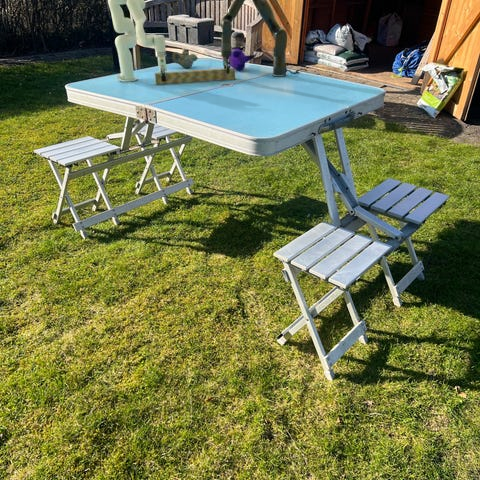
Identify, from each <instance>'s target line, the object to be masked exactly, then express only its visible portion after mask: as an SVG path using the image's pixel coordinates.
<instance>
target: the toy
mask: <svg viewBox="0 0 480 480" xmlns="http://www.w3.org/2000/svg"><path fill="white" fill-rule="evenodd" d="M231 52H232V56H231V57H229V59H230V68H234V69H235V70H236V71H237V72H241V71H243V70H244V69H245V68H246V63H247V62H249V61H251V60H252V59H254V58H256V57H257V55H258V54H250V55H245V53H244V52H243V50H241V49H239V48H235V49H233V50H232V49H231Z"/></svg>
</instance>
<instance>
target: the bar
mask: <svg viewBox="0 0 480 480" xmlns="http://www.w3.org/2000/svg"><path fill="white" fill-rule="evenodd" d="M165 76H166V81H164V82H162V80H161V73H160V72H154V81H155V85H156V86H158V85H159V86H161V85H173V84H174V85H175V84H189V83H190V84H191V83H203V82H216V81H231V80H236V69H234V68H232V67H230V73H229V74H227V70H226V68H224V67H223V68H209V69H195V70H194V69H193V70H179V71H178V70H177V71H165Z"/></svg>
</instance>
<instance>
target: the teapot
mask: <svg viewBox="0 0 480 480" xmlns="http://www.w3.org/2000/svg"><path fill="white" fill-rule="evenodd" d="M177 57H178V59H177ZM197 60H198V56H197V55H196V54H195V53H190V54H189V52H188V51H187V49H186V48H184V49H183V51H182V53H180V52H177V51H174V52H173V53H172V61H173V63H175V64H177V65H179V66H180V67H182V68H183V69H190V68H191V67H193V65H194V62H196V61H197Z"/></svg>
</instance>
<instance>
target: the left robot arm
mask: <svg viewBox="0 0 480 480" xmlns="http://www.w3.org/2000/svg"><path fill="white" fill-rule="evenodd" d="M107 4H108V7H109V10H110V15H111V19H112V25H113V29H114V31H115V32H116V33H117V34H120V35H118V36H116V38H115V40H114V44H115V48H116V52H117V56H118V62H119V67H120V68H119V69H120V74H119V75H115V76H114V78H115V79H117V80H119V81H120V82H123V83H126V82H128V83H130V82H135V81H137V79H138V78H137V77H135V71H134V63H133V55H132V53H131V51H130V49H133V48H135V47H136V46H137V44H138V41H139V43H140V45H141V46H142V47H144V48H147V47H148V48H149V47H154V53H155V58H157V65H158V70H159V73H161V80H162V82H164V81H166V76H165V72H168V69H167V62H166V57H167V49H166V38H165V36H164V35H163V34H155V33H150V34H147V33H146V32H145V29H144V23H145V22H146V21H147V16H146V14H145V12H144V10H145V8H146V1H145V0H107ZM122 5H126V7H127V9H128V11H129V13H130V15H131V16H132V18H133V20H132V19H131V18H130V17H125V14H124V11H123V8H122V7H121V6H122ZM133 21H134V22H133ZM134 23H135V24H134Z"/></svg>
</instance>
